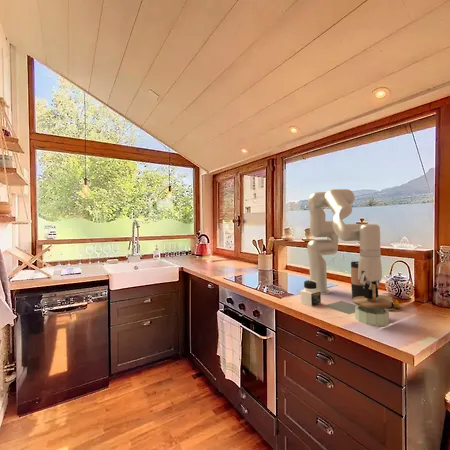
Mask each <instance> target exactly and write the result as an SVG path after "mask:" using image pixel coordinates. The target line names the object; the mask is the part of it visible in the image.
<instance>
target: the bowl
mask: <svg viewBox="0 0 450 450" xmlns="http://www.w3.org/2000/svg"><path fill="white" fill-rule="evenodd" d="M389 314H390V311H388V310H387V309H374V308H367V307H362V306H359V305H357V306H356V307H355V313H354V315H355V318H354V319H355V320H357V321H358V322H359V323H361V324H365V325H370V326H376V327H379V326H380V327H382V328H386V327H388V326H389V325H390V315H389Z"/></svg>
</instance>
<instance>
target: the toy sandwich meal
mask: <svg viewBox="0 0 450 450" xmlns="http://www.w3.org/2000/svg"><path fill="white" fill-rule="evenodd" d="M378 298H383V299H386V300H388V301H390V302H391V303H392V306H391V307H390V308H386V309H387V310H388V311H389V312H393V313H395V312H401V311H402V310H403V307H402V306H400V302H399V301H398V300H397V299H396V300H393V299H394V297H392V296H388V295H382V294H378ZM393 307H394V308H393Z"/></svg>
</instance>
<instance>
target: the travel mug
mask: <svg viewBox="0 0 450 450" xmlns="http://www.w3.org/2000/svg"><path fill="white" fill-rule="evenodd" d="M358 264H359V261H351V262H350V277H351V278H350V279H351V280H350V281H351V287H350V288H351V297H352V298H351V299H352V300H353V298H354V297H358V296H364V288H363V285H362V284H360V280H358ZM366 281H367V280H366Z"/></svg>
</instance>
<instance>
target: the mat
mask: <svg viewBox="0 0 450 450" xmlns="http://www.w3.org/2000/svg"><path fill="white" fill-rule="evenodd" d="M356 306H357V305H356V304H355V303H354V304H353V303H350V302H347V301H344V300H340V301H336V302H332V303H329V304H323V307H325V308H329V309H332V310H335V311H338V312H340V313H344V314H347V315H351V314H355V307H356Z"/></svg>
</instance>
